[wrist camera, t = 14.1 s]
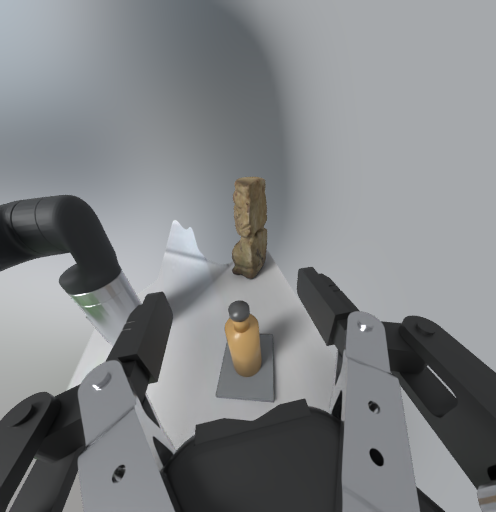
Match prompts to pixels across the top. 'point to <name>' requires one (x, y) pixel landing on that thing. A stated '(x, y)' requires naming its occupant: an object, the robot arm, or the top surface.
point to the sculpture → (250, 226)
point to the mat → (252, 386)
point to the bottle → (243, 339)
